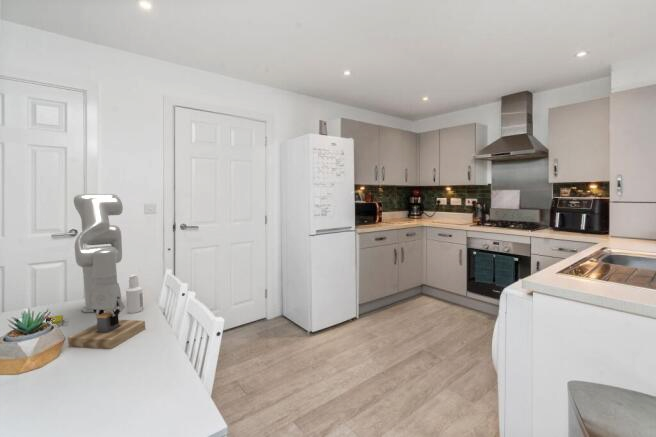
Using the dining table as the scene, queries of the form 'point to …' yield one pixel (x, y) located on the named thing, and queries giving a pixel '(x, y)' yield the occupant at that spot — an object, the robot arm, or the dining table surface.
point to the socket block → (106, 335)
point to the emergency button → (58, 320)
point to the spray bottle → (134, 295)
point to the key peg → (105, 322)
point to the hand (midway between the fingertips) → (108, 324)
